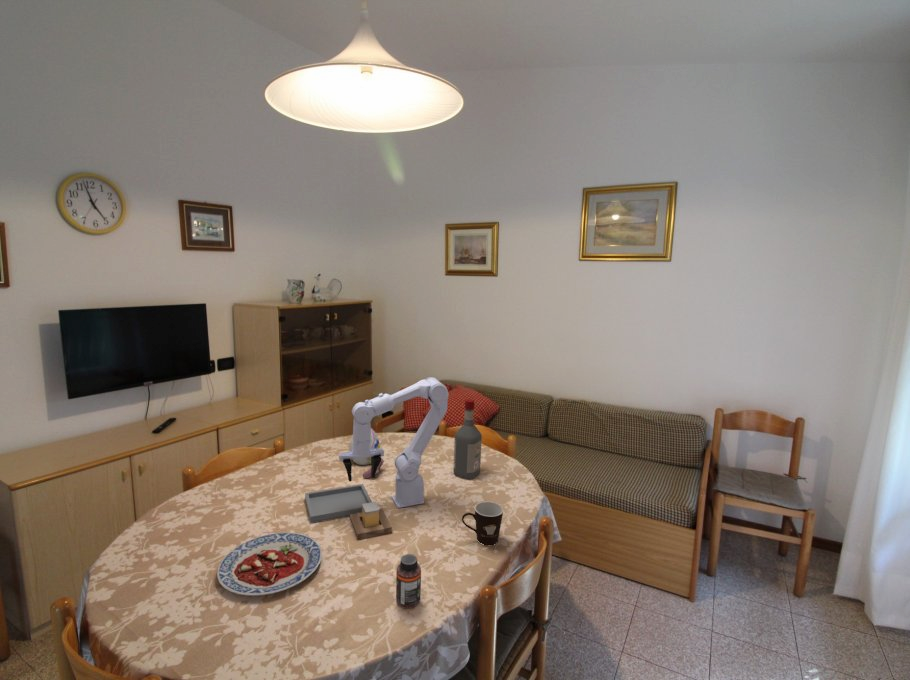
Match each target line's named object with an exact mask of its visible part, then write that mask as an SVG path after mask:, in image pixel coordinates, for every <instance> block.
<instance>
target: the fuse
mask: <svg viewBox="0 0 910 680" xmlns="http://www.w3.org/2000/svg"><path fill="white" fill-rule="evenodd" d="M379 509H380V508H379V507H378V504H377V503H376V501H372V502H371V503H365V504H362V522H361V523H362V525H363V527H364V528H367V527H372V526H377V525H379Z"/></svg>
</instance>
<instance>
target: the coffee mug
mask: <svg viewBox="0 0 910 680" xmlns="http://www.w3.org/2000/svg"><path fill="white" fill-rule="evenodd" d="M503 515H504V507H503V506H502V505H501V504H499V503H497V502H494V501H487V500H486V501H480V502H478V503H476V504H475V505H474V513H471V512H466V513H464V514H462V517H461V522H462V523H463V525H465V527H466V528H468V529H469V530H471V531H473V532H474V533H475V534H476V541H477V540H478V541H479V542H480V543H482V544H484V545H483V546H485V545H492V546H495V545H497V543H498V542H499V539H500V538H499V537H500V532H501V526H502V522H503V521H502V520H503ZM466 516H471V517H472V518H473V519H474V520H475V528H474V527H472V526H470V525H468V524H467V523H466V522H465V520H464V519H465V518H466ZM478 541H477V542H478ZM479 542H478V543H479ZM480 543H479V544H480ZM482 544H481V545H482ZM494 544H495V545H494Z"/></svg>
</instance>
